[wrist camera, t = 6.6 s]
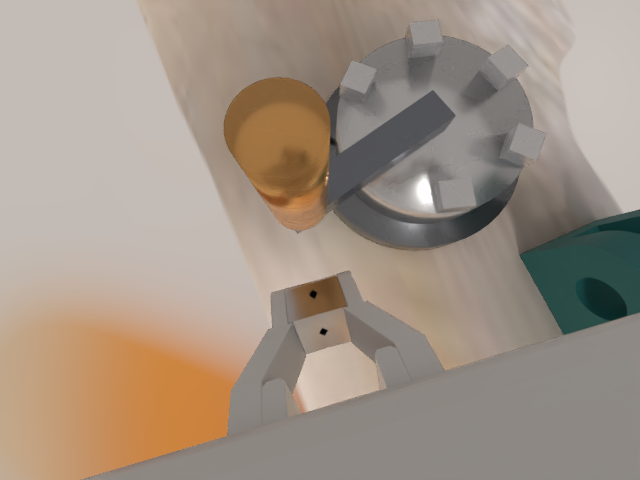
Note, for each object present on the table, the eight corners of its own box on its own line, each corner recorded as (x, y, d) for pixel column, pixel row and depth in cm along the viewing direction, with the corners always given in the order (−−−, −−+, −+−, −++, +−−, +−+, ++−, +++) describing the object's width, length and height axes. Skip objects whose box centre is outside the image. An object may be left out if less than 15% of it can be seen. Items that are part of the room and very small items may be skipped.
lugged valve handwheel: (429, 43, 22) (548, -236, 10) (538, 160, 20) (831, -18, 8) (240, 168, 20) (127, 7, 9) (339, 307, 18) (364, 339, 7)
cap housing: (533, 220, 21) (557, 212, 19) (346, 273, 21) (348, 272, 19) (463, 56, 24) (477, 33, 22) (294, 101, 24) (291, 81, 21)
